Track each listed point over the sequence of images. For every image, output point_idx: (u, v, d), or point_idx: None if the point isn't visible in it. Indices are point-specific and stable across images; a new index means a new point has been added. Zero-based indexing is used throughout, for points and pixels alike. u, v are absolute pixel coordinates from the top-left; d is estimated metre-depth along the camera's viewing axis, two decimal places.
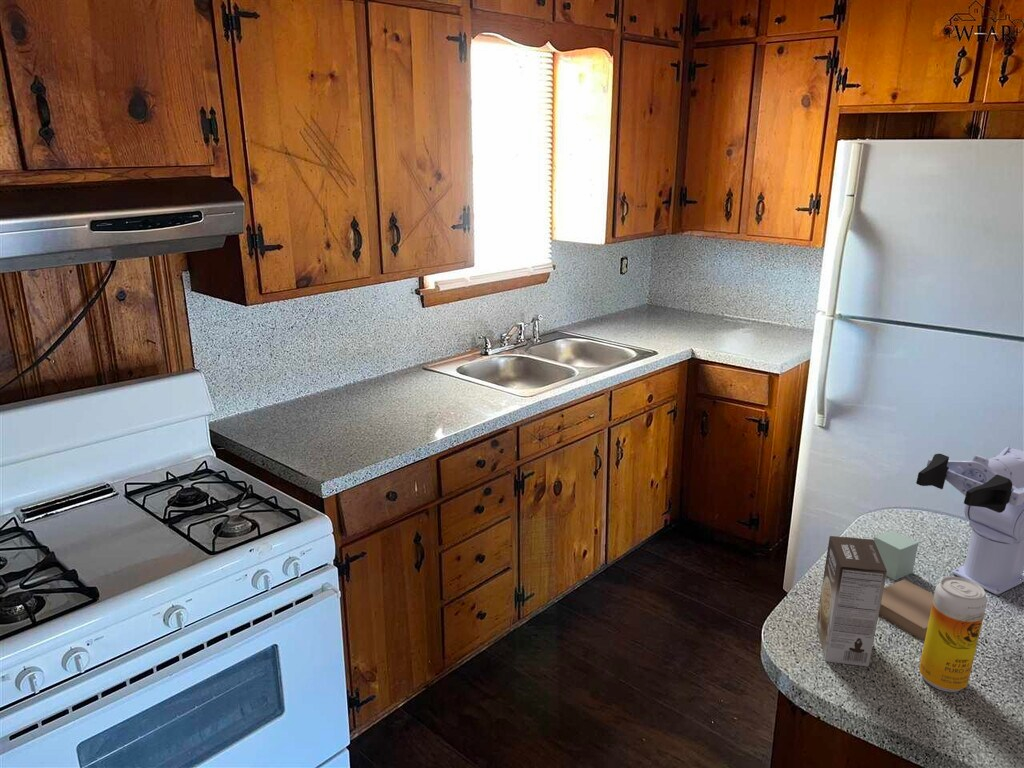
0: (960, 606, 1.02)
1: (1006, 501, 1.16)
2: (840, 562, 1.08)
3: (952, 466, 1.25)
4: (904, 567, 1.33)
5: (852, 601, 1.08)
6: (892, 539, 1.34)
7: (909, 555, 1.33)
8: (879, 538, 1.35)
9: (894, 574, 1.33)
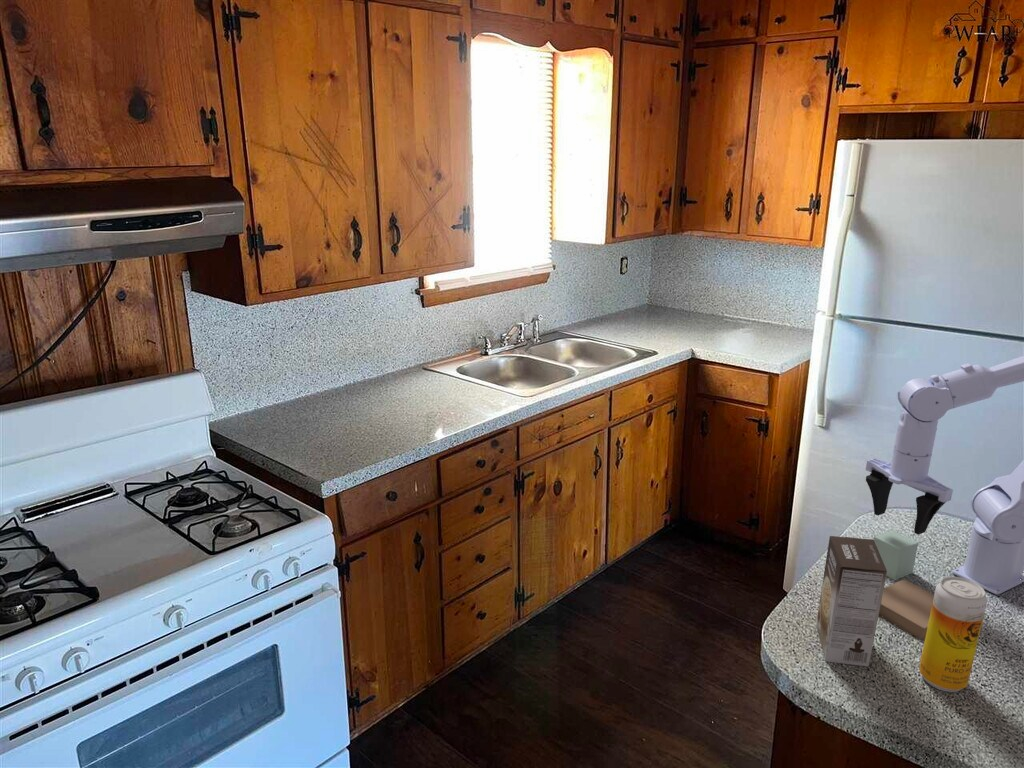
0: (960, 606, 1.02)
1: None
2: (841, 562, 1.08)
3: None
4: (904, 567, 1.33)
5: (852, 601, 1.08)
6: (892, 539, 1.34)
7: (909, 555, 1.33)
8: (879, 538, 1.35)
9: (894, 574, 1.33)
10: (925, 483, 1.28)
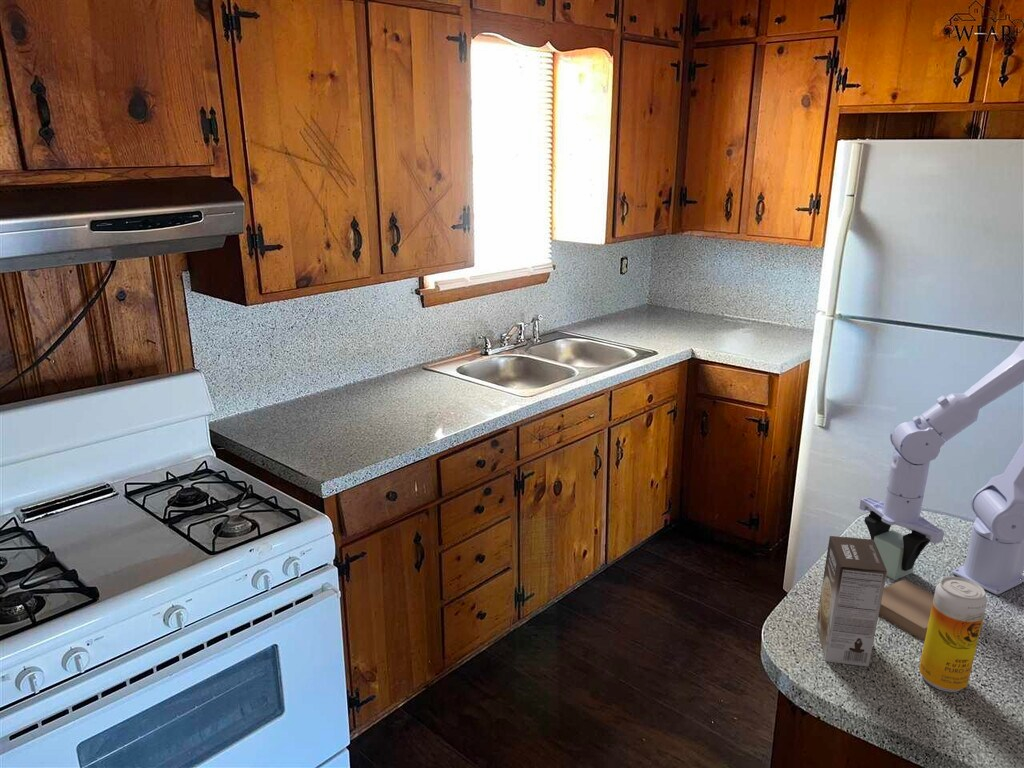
0: (960, 606, 1.02)
1: (928, 539, 1.30)
2: (841, 562, 1.08)
3: None
4: None
5: (852, 601, 1.08)
6: (893, 539, 1.34)
7: None
8: (879, 537, 1.35)
9: (894, 574, 1.33)
10: (917, 524, 1.30)
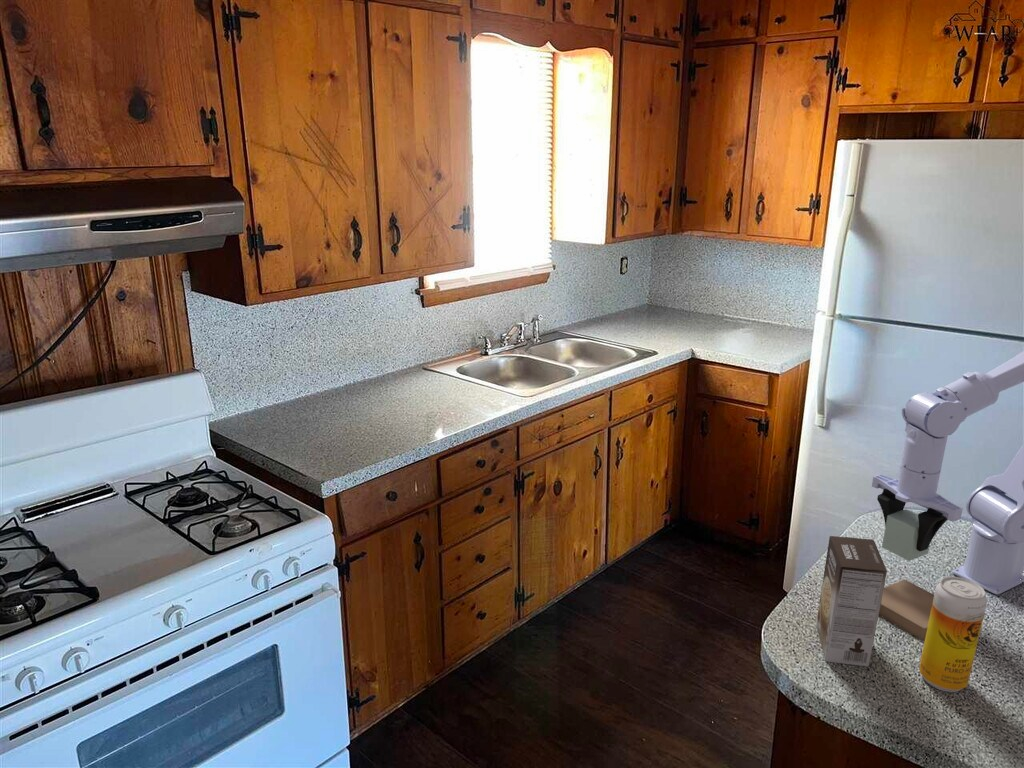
0: (960, 606, 1.02)
1: (945, 517, 1.22)
2: (840, 562, 1.08)
3: None
4: None
5: (852, 601, 1.08)
6: (907, 517, 1.27)
7: None
8: (892, 516, 1.28)
9: (908, 554, 1.26)
10: (933, 501, 1.23)
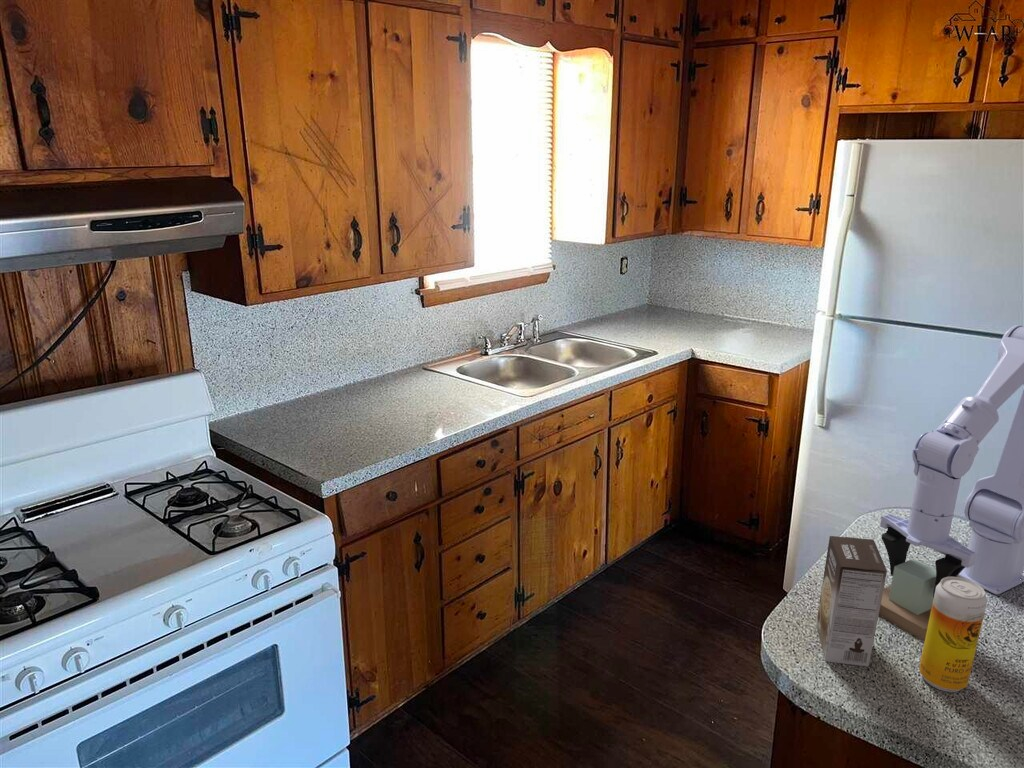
0: (960, 606, 1.02)
1: None
2: (841, 562, 1.08)
3: None
4: (928, 600, 1.20)
5: (852, 601, 1.08)
6: (915, 569, 1.21)
7: (933, 587, 1.20)
8: (899, 568, 1.22)
9: (917, 608, 1.20)
10: (946, 545, 1.16)
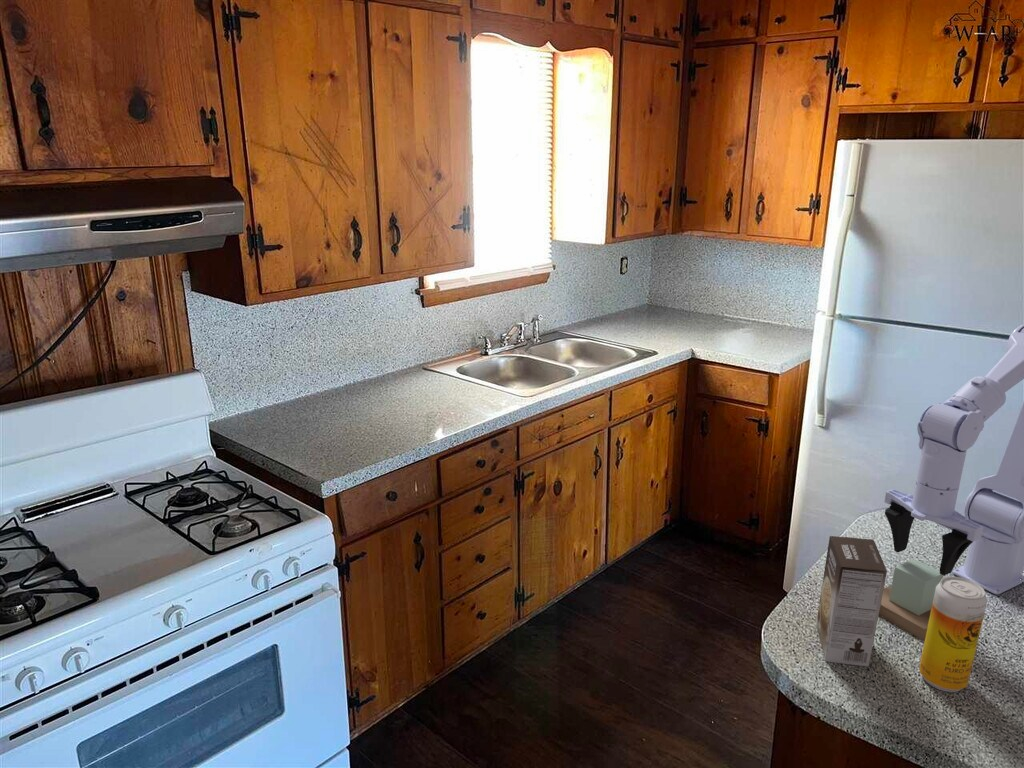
0: (960, 606, 1.02)
1: None
2: (840, 562, 1.08)
3: None
4: (929, 601, 1.20)
5: (852, 601, 1.08)
6: (915, 569, 1.21)
7: (934, 587, 1.20)
8: (900, 568, 1.21)
9: (918, 609, 1.19)
10: (952, 519, 1.15)
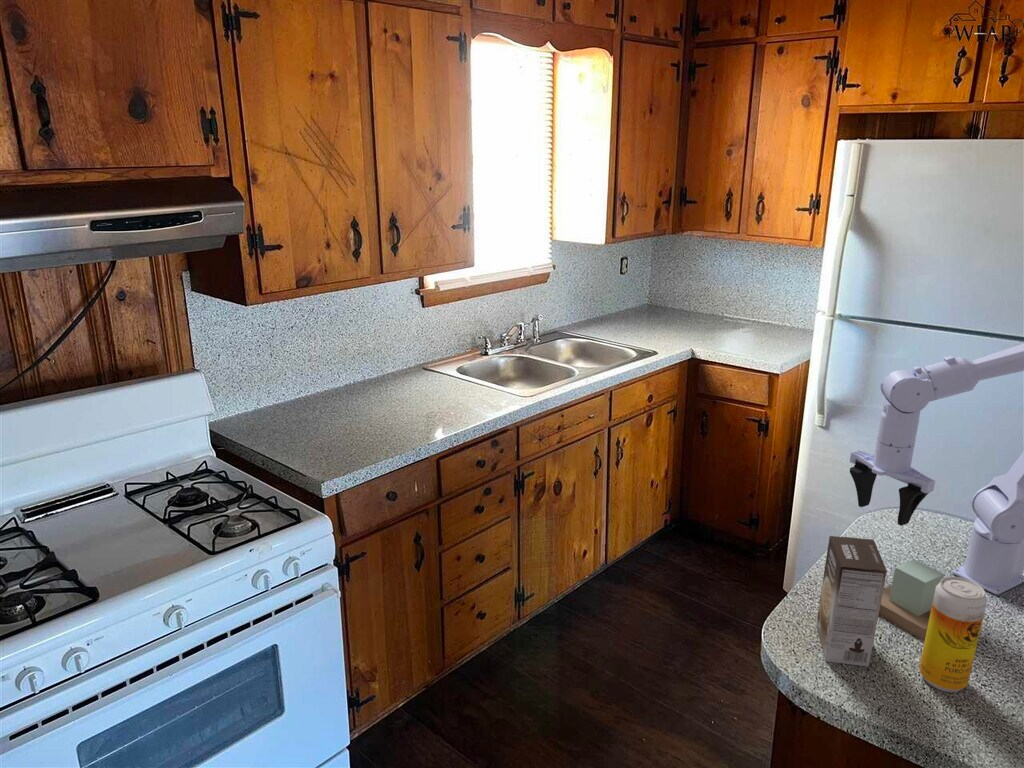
0: (960, 606, 1.02)
1: None
2: (840, 562, 1.08)
3: None
4: (929, 601, 1.20)
5: (852, 601, 1.08)
6: (916, 570, 1.21)
7: (934, 588, 1.20)
8: (900, 568, 1.21)
9: (918, 609, 1.19)
10: (908, 474, 1.28)
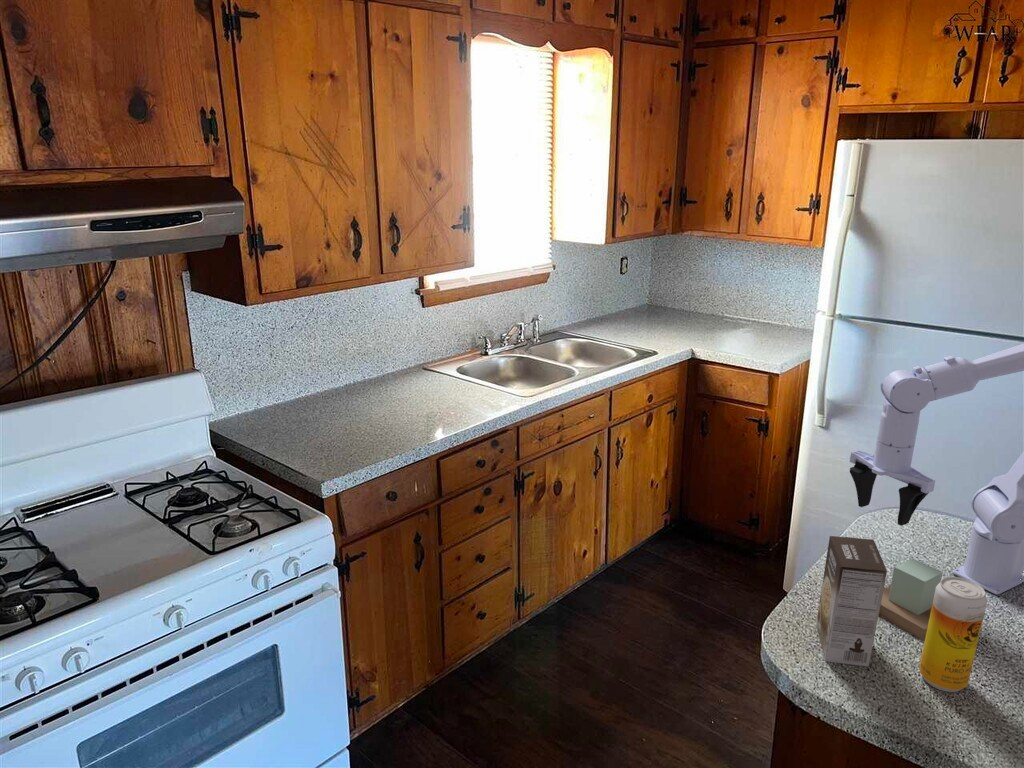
0: (960, 606, 1.02)
1: None
2: (841, 562, 1.08)
3: None
4: (928, 600, 1.20)
5: (852, 601, 1.08)
6: (914, 569, 1.21)
7: (933, 587, 1.20)
8: (899, 568, 1.21)
9: (917, 608, 1.20)
10: (908, 474, 1.28)
